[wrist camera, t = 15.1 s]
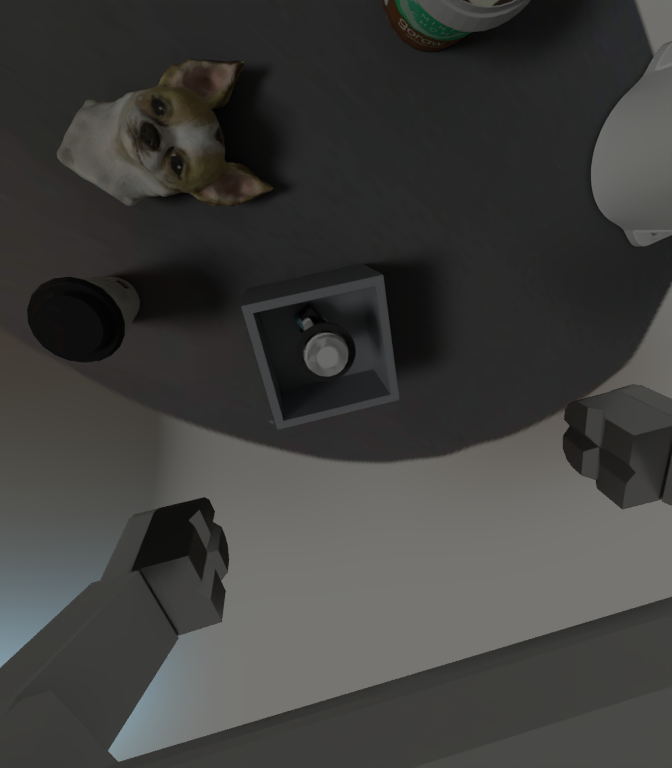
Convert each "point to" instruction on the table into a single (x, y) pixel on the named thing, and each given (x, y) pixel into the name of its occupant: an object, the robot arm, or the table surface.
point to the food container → (446, 19)
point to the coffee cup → (82, 316)
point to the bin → (347, 309)
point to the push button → (322, 347)
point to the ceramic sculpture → (163, 140)
